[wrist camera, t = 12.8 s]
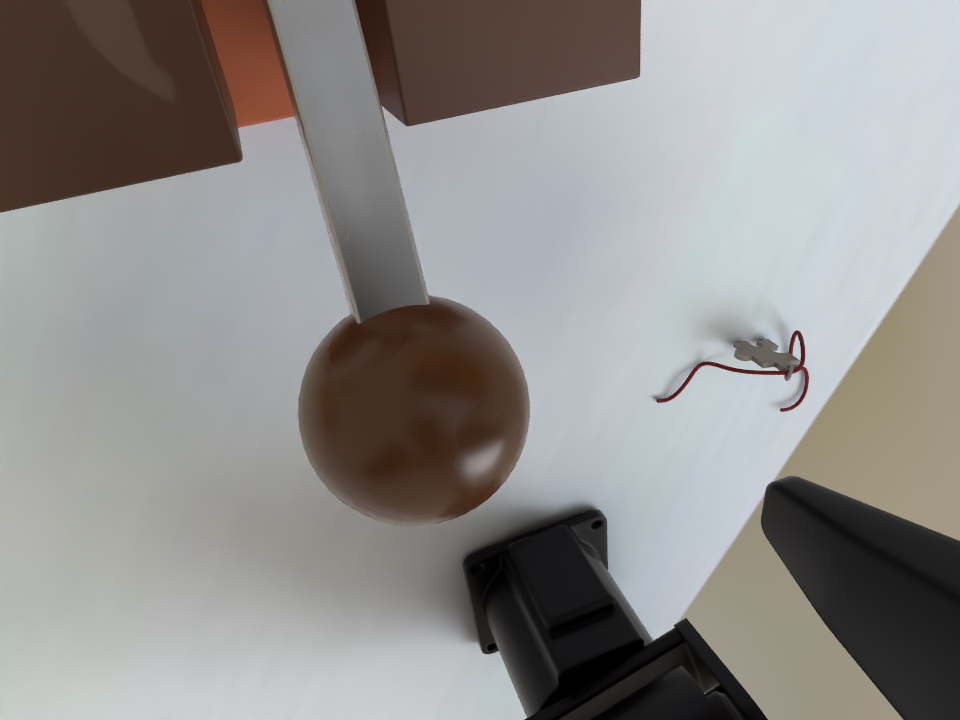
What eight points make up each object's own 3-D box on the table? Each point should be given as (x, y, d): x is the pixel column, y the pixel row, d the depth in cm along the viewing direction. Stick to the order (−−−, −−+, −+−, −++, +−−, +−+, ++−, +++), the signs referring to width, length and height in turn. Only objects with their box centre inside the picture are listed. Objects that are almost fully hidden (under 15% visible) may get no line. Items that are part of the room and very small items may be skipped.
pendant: (832, 319, 28) (885, 349, 26) (797, 405, 30) (843, 440, 28) (675, 330, 25) (719, 365, 23) (648, 424, 27) (686, 464, 25)
